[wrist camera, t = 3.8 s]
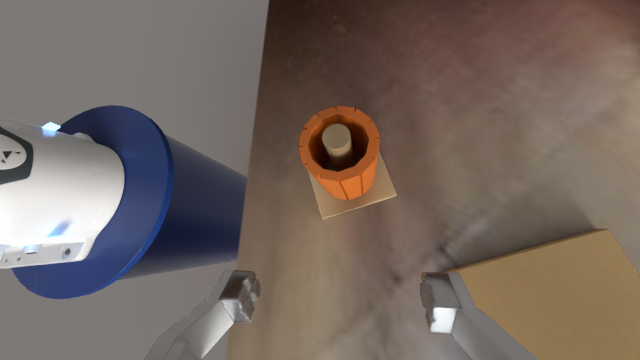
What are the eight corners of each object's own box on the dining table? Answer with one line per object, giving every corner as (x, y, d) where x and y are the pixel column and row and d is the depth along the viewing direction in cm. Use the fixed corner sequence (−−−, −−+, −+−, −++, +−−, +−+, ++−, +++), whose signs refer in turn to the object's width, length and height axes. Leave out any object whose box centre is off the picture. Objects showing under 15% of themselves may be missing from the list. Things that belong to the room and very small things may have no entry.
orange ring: (328, 206, 24) (310, 192, 17) (312, 156, 26) (290, 121, 18) (383, 188, 24) (391, 164, 16) (364, 137, 25) (363, 94, 18)
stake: (323, 219, 25) (297, 207, 16) (304, 154, 27) (271, 109, 18) (395, 196, 24) (414, 169, 15) (369, 131, 27) (371, 70, 17)
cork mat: (515, 461, 18) (524, 474, 17) (437, 273, 22) (441, 274, 21) (722, 424, 16) (744, 435, 15) (597, 228, 20) (608, 228, 19)
